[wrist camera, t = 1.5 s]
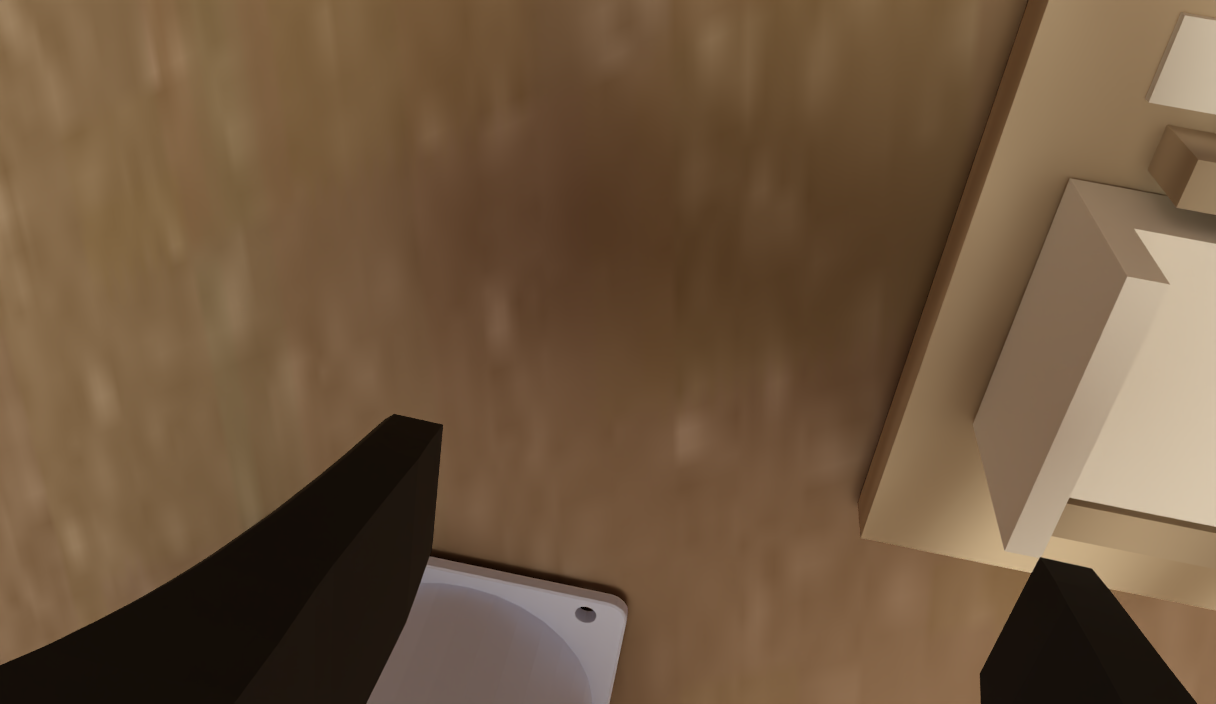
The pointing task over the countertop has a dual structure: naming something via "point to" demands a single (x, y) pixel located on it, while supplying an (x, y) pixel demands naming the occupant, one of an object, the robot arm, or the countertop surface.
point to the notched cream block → (1107, 369)
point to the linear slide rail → (1005, 259)
